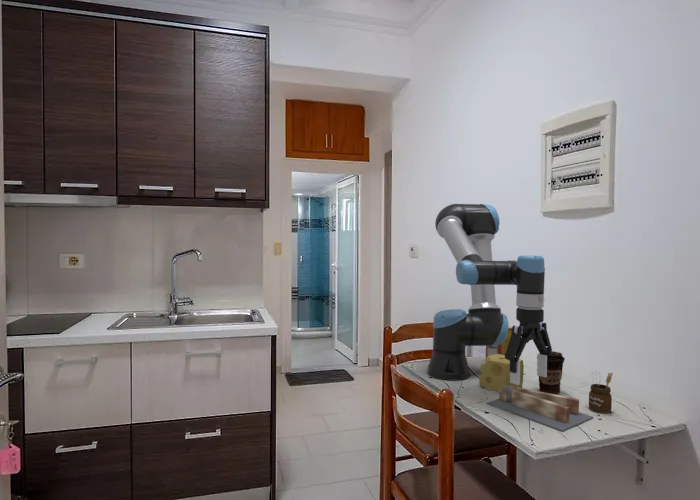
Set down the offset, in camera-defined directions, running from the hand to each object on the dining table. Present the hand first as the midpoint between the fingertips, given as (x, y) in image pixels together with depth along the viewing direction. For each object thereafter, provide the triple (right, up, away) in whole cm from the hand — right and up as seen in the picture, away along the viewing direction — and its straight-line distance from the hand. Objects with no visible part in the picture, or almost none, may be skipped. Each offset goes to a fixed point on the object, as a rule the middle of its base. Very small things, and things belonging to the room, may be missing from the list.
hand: (528, 379), depth 135 cm
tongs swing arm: (+5, -8, 0) cm, 10 cm away
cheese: (-2, -8, +19) cm, 21 cm away
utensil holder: (+21, -9, 0) cm, 23 cm away
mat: (+2, -9, -1) cm, 9 cm away
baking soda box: (+6, -8, +46) cm, 47 cm away
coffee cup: (+13, -9, +15) cm, 21 cm away
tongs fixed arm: (+1, -8, -1) cm, 8 cm away
